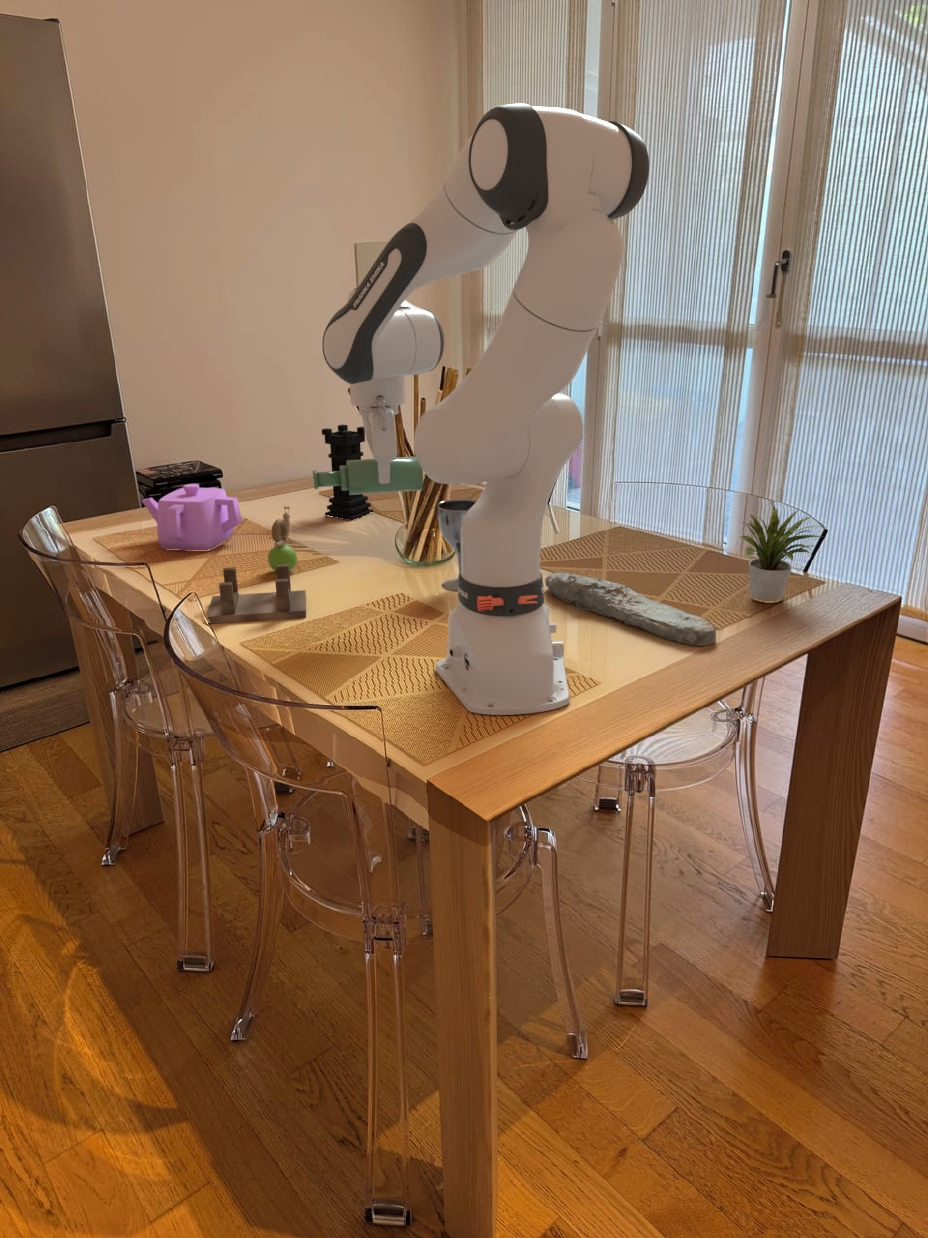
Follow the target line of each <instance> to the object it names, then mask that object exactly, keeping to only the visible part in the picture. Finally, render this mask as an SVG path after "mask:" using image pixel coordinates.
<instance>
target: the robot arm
mask: <svg viewBox="0 0 928 1238" xmlns="http://www.w3.org/2000/svg"><path fill="white" fill-rule="evenodd" d="M649 174H650V159H649V153H648V149H647V146H646V144H645V142H644V140H643V139H642V137H641V136H640V135H639V134H638V133H637V132H635V131H634V130H633V129H631V128H629V127H628V126H626V125H624V124H622V123H620V122H617V121H613V120H609V121H607V120H602V119H599V118H597V117H594V116H590V115H586V114H583V113H579V112H578V111H576V110H573V109H570V108H562V107H551V106H531V105H530V104H527V103H522V102H521V103H508V104H503V105H498V106H496V107H493V108H491V109H489V110H488V111H487V112H486V113H485V114H484V115H483V116H482V117H481V118H480V120H479V122H478V124H477V125H476V128H475V130H474V132H473V133H472V135H471V136H470V137H468V140H467V141H466V142H465V144H464V146H462V149H461V150H460V152H459V153H458V155H457V157H456V158H455V160H454V162H453V163H452V165H451V167H450V169H449V170H448V172H447V174H446V176H445V179H444V181H443V182H442V184H441V185H440V187H439V189H438V191H437V192H436V193H435V194H434V195H433V197H432V199H431V200H430V201H429V202H428V203H427V204H426V205H425V206H424V208H423V209H421V210H420V212H419V213H418V214H417V215H416V216H415V217H414V218H412V220H410V221H409V222H408V223H407V224H405V225H404V226H403V227H402V228H400V230H398V231H397V232H396V233H395V234H394V235H393V236H392V237H391V238H390V239H389V241H388V242H387V244H386V245H385V246H384V248H383V249H382V250H381V252H380V254H379V255H378V257H377V258H376V260H374V262H373V264H372V266H371V267H370V269H368V271H367V273H366V274H365V276H364V277H363V279H362V280H361V283H360V284H359V286H357V287H356V288H353V290H351V291H350V292H349V293H348V297H347V302H346V304H345V305H344V306H343V307H342V308H340V309H339V310H337V311H336V312H335V314H334V315H332V317H331V319H330V320H329V321H328V323H327V325H326V327H325V330H324V331H323V336H322V343H321V344H322V354H323V357H324V360H325V362H326V364H327V366H328V368H329V369H330V370H331V371H333V373H334V374H335V375H336V376H337V377H339V378H340V379H341V380H343V382H345V383H347V384H349V395H350V405H351V406H353V407H354V406H355V407H358V413H359V414H358V415H360V416H362V417H361V418H362V423H363V427H364V430H365V440H366V441H367V445H368V446H369V449H370V452H371V454H372V458H373V459H374V460H375V461H377V466H378V480H379V482H380V483H381V484H388V483H389V482H390V464H391V461H392V460H396V458H397V457H398V443H397V432H396V431H397V429H396V428H397V427H396V418H395V416H396V415H398V414H399V405H403V404H405V403H406V401H407V399H406V398H407V395H406V376H415V375H421V374H425V373H428V372H432V371H433V370H435V369H436V368H437V366H438V365H439V363H440V362H441V360H442V357H443V355H444V349H445V335H444V330H443V326H442V324H441V322H440V320H439V319H438V318H437V316H436V315H435V314H434V313H433V312H432V311H430V310H428V309H423V308H421V307H419V306H416V305H414V304H412V303H411V302H409V301H407V300H406V299H407V298H408V297H409V296H410V295H411V294H412V293H414V292H415V291H416V290H418V289H420V288H422V287H424V286H426V285H428V284H431V283H434V282H436V281H440V280H443V279H446V278H450V277H454V276H455V277H456V276H459V275H462V274H464V275H465V274H467V273H471V272H475V271H478V270H481V269H483V268H486V267H487V266H489V265H491V264H492V263H493V262H494V261H495V260H496V259H497V258H499V256H501V255H502V254H503V253H504V251H505V250H506V249H507V248H508V247H509V246H510V244H511V242H512V241H513V239H514V238H515V236H516V234H517V232H518V231H519V230H521V229H523V228H525V229H526V232H527V238H528V246H527V251H526V256H525V259H524V262H523V264H522V266H521V269H520V270H519V274H518V276H517V278H516V281H515V283H514V285H513V288H512V291H511V293H510V296H509V297H508V300H507V303H506V306H505V308H504V310H503V313H502V315H501V319H500V320H499V322H498V325H497V328H496V329H495V332H494V334H493V336H492V339H491V340H490V343H489V344H488V345H487V347H486V349H485V351H484V352H483V354H482V355H481V356H480V358H479V359H478V361H477V362H476V363H475V364H474V366H473V367H472V368H471V370H470V371H469V372H468V373H467V375H466V376H464V378H463V379H462V381H461V382H460V383H459V384H458V385H457V386H456V387H455V388H454V389H453V390H452V391H451V392H450V393H449V394H448V395H447V396H445V398H443V399H442V400H441V401H440V402H438V403H437V404H436V405H434V406H432V407H430V408H429V409H428V410H426V411H425V412H424V413H423V414H422V415H421V416H420V418H419V420H418V421H417V424H416V428H415V431H414V436H413V449H414V453H415V454H414V455H415V456H416V458H417V460H418V463H419V465H420V466H421V468H422V471H423V473H424V474H425V475H426V476H427V477H428V478H429V479H430V480H431V481H433V482H435V483H438V484H444V485H445V484H446V485H456V486H457V485H458V486H459V485H460V486H462V485H463V486H472V485H477V484H482V483H485V485H484V488H483V490H482V492H481V494H480V496H479V497H478V499H477V500H476V501H477V502H476V503H475V504H474V505H473V506H472V507H471V508H470V509H469V510H468V511H467V513H466V514H465V516H464V518H463V520H462V523H461V572H460V573H459V572H458V576H457V578H458V583H457V589H458V591H457V597H458V604H457V605H456V606H455V608H453V610H452V611H450V613H449V614H448V616H447V643H446V644H447V645H446V646H447V647H446V649H447V651H446V652H447V653H446V657H445V658H443V659H440V660H438V661H437V662H436V663H435V671H436V673H437V674H438V675H439V676H440V678H441V679H442V680H443V681H444V683H445V684H446V685H447V687H448V688H449V689H450V690H451V691H452V693H453V694H454V695H455V697H457V699H458V700H459V701H460V703H461V704H462V705H463V706H464V708H466V710H467V711H468V712H470V713H475V714H480V715H490V716H511V715H523V714H524V715H525V714H536V713H541V712H542V713H543V712H547V711H551V710H556V709H559V708H561V707H565V706H567V705H569V704H570V701H571V699H570V692H569V686H568V685H569V684H568V679H567V673H566V668H565V663H564V662H565V660H564V656H565V655H564V654H565V650H564V649H565V648H564V647H565V646H564V645H565V644H564V641H562V640H554V641H553V640H552V634H557V624H556V623H554V622H553V623H552V622H551V623H550V607H549V606H547V605H546V604H545V597H544V592H545V587H544V586H545V584H544V579H543V574H542V572H541V552H542V551H541V547H542V533H543V522H544V517H545V514H546V513H545V512H546V510H547V506H548V504H549V503H548V502H549V500H550V497H551V494H552V491H553V489H554V486H555V484H556V482H557V480H558V478H559V476H560V474H561V472H562V471H563V468H564V467H565V465H566V464H567V463H568V462H569V460H570V459H571V458H572V457H574V455H575V454H576V453H577V452H578V450H579V448H580V445H581V443H582V441H583V435H584V434H583V433H584V426H583V425H584V424H583V418H582V415H581V411H580V410H579V407H578V406H577V404H576V403H575V401H574V400H573V399H572V398H571V397H569V396H568V395H567V394H565V393H562V392H561V391H563V390H565V389H566V387H568V386H569V385H570V383H572V381H573V380H574V378H575V377H576V375H577V374H578V372H579V369H580V367H581V365H582V363H583V360H584V359H585V356H586V354H587V352H588V350H589V347H590V345H591V343H592V341H593V339H594V336H595V334H596V332H597V330H598V329H599V326H600V324H601V321H602V320H603V317H604V315H605V312H606V310H607V307H608V305H609V302H610V300H611V298H612V295H613V291H614V288H615V286H616V282H617V279H618V276H619V273H620V269H621V264H622V261H623V256H624V251H625V243H624V238H623V235H622V232H621V231H620V229H619V227H618V226H617V224H616V223H615V222H614V220H617V219H619V218H621V217H624V216H627V215H628V214H629V213H630V212H632V210H634V209H635V208H636V206H637V205H638V203H639V202H640V200H641V199H642V197H643V195H644V193H645V191H646V190H645V189H646V187H647V184H648V180H649Z"/></svg>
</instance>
